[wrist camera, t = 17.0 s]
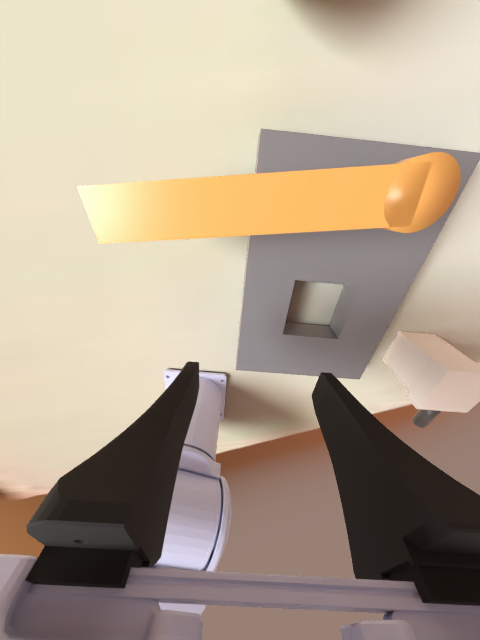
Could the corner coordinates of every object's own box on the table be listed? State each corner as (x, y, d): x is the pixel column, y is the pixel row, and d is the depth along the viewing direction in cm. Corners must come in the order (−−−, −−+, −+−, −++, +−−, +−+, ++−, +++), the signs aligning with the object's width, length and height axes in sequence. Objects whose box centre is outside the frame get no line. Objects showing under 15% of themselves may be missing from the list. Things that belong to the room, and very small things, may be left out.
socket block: (349, 363, 25) (381, 413, 19) (236, 355, 25) (234, 403, 19) (448, 160, 15) (581, 133, 9) (258, 139, 14) (268, 97, 9)
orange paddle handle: (117, 244, 12) (101, 249, 10) (95, 181, 10) (73, 178, 9) (417, 227, 11) (441, 231, 9) (443, 156, 9) (475, 148, 8)
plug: (403, 384, 27) (445, 433, 21) (366, 381, 26) (399, 429, 21) (441, 331, 22) (507, 375, 17) (397, 327, 22) (449, 370, 17)
